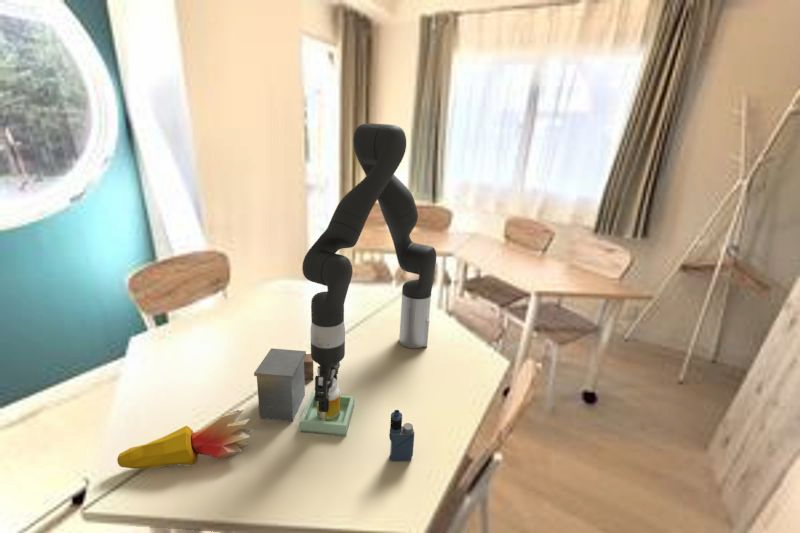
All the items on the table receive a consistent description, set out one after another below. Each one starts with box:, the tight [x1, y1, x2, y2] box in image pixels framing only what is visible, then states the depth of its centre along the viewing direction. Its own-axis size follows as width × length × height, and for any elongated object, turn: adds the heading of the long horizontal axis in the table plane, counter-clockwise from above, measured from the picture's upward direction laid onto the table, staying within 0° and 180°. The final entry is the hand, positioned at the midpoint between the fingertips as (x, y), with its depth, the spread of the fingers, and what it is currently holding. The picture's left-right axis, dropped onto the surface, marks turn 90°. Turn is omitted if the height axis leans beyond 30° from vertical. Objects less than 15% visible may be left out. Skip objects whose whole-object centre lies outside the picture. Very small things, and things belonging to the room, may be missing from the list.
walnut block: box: [304, 353, 314, 382], centre depth 113 cm, size 4×4×6 cm
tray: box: [299, 392, 355, 437], centre depth 98 cm, size 11×11×3 cm
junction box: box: [253, 348, 307, 422], centre depth 100 cm, size 9×11×13 cm
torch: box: [116, 409, 256, 470], centre depth 84 cm, size 8×8×25 cm
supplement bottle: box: [317, 378, 341, 422], centre depth 97 cm, size 5×5×10 cm
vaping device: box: [388, 409, 415, 462], centre depth 86 cm, size 3×5×12 cm, turn 95°
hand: (328, 399), depth 97 cm, fingers open, 8 cm apart
